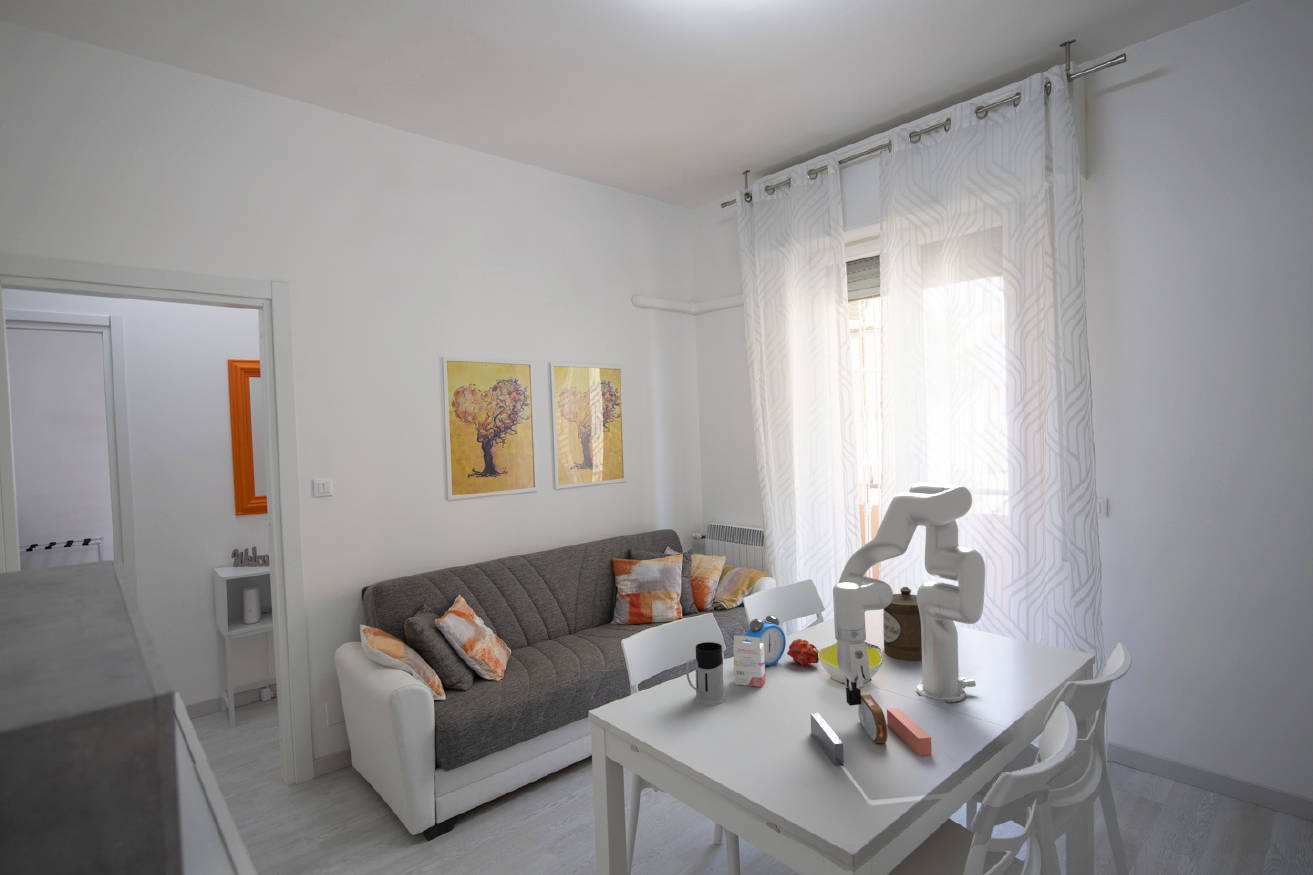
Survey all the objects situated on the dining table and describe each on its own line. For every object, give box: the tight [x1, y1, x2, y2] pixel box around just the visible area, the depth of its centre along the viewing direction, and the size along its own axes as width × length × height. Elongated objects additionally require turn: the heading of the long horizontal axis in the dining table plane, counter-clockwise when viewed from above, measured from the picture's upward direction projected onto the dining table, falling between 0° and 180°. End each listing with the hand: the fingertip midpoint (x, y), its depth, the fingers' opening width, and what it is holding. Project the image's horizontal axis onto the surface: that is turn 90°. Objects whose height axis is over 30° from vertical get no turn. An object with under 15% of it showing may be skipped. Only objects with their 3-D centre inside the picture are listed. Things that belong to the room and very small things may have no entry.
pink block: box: [886, 707, 933, 757], centre depth 158 cm, size 3×16×4 cm, turn 6°
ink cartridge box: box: [732, 634, 766, 688], centre depth 197 cm, size 9×5×15 cm, turn 68°
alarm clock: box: [743, 615, 787, 667], centre depth 212 cm, size 13×6×15 cm, turn 122°
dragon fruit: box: [786, 638, 820, 668], centre depth 211 cm, size 8×8×12 cm
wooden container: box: [882, 586, 922, 661], centre depth 219 cm, size 15×15×22 cm
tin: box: [858, 693, 888, 744], centre depth 162 cm, size 15×3×8 cm, turn 0°
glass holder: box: [685, 641, 726, 706], centre depth 184 cm, size 9×14×15 cm, turn 137°
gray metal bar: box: [810, 712, 845, 767], centre depth 156 cm, size 2×16×5 cm, turn 6°
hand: (853, 703), depth 166 cm, fingers closed
